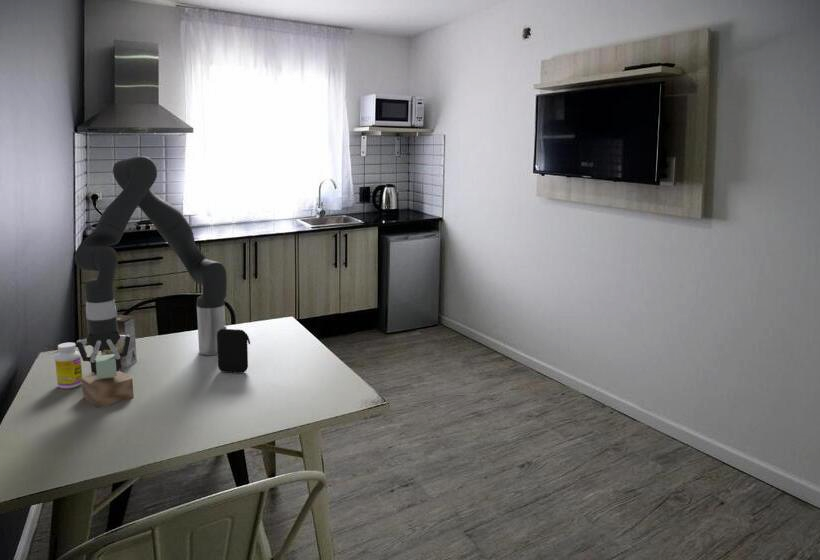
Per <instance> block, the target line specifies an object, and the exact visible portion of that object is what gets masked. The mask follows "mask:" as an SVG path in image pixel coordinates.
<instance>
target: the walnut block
mask: <svg viewBox="0 0 820 560" xmlns="http://www.w3.org/2000/svg"><path fill="white" fill-rule="evenodd" d="M133 384H134V382H133V378H132V377H130V376H129V375H127V374H125V373H124V372H122V371H120V370H119V371H117V376H112V377H105V378H97V374H95V375H94V374H93V375H90V376H86V377H82V384H81V385H82V395H83V398H84V399H85V400H87V401H88V402H89V403H91V404H92V405H94V406H95V407H96V408H101V407H104V406H105V407H106V406H108V405H112V404H115V403H119V402H122V401H126V400H129V399H132V398H134V395H135V394H134V385H133Z"/></svg>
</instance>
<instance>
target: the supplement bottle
mask: <svg viewBox="0 0 820 560" xmlns="http://www.w3.org/2000/svg"><path fill="white" fill-rule="evenodd" d="M76 349H77V343H75V342H63V343H60V344H58V345H57V350H58V352H57V353H56V354H55V356H54V361H55V362H54V363H55V373H56V381H57V387H58V388H60V389H73V388H78V387H79V386H81V385H82V378H83V369H82V357H81V354H80V352H79V350H78V351H77V350H76Z"/></svg>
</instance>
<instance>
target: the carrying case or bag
mask: <svg viewBox="0 0 820 560" xmlns="http://www.w3.org/2000/svg"><path fill="white" fill-rule="evenodd" d="M248 345H251V341H250V337H249V335H248V333H246V331H244V330H243V329H238V328H237V329H236V328H235V329H234V328H231V329H230V328H227V329H220V330H219V331H218V332H217V350H218V355H217V366H218V370H219V371H220V372H222V373H234V372H243V373H245V372H246V371H247V370H248V368H249V360H248V359H249V357H248V356H249V355H248V354H249V353H248V349H249V348H248Z"/></svg>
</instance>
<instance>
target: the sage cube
mask: <svg viewBox="0 0 820 560" xmlns="http://www.w3.org/2000/svg"><path fill="white" fill-rule="evenodd" d="M95 360H96V370H97V374H96V375H97V378H105V377H112V376H117V371H116V359H115V356H114V354H109V355H102V354H101V355H97V356H96V359H95Z"/></svg>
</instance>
